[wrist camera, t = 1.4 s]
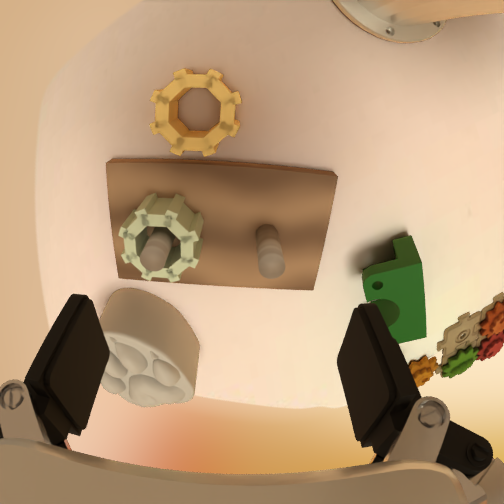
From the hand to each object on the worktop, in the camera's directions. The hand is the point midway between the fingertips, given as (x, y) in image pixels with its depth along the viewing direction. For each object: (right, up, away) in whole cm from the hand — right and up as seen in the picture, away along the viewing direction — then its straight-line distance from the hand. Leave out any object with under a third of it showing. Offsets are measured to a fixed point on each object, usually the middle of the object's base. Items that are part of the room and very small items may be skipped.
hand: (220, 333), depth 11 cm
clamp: (+16, 0, +23) cm, 28 cm away
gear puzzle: (+38, -11, +31) cm, 50 cm away
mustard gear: (-3, +15, +13) cm, 20 cm away
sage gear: (-7, +5, +17) cm, 19 cm away
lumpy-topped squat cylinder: (-11, -6, +25) cm, 29 cm away
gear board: (-2, +5, +19) cm, 19 cm away
